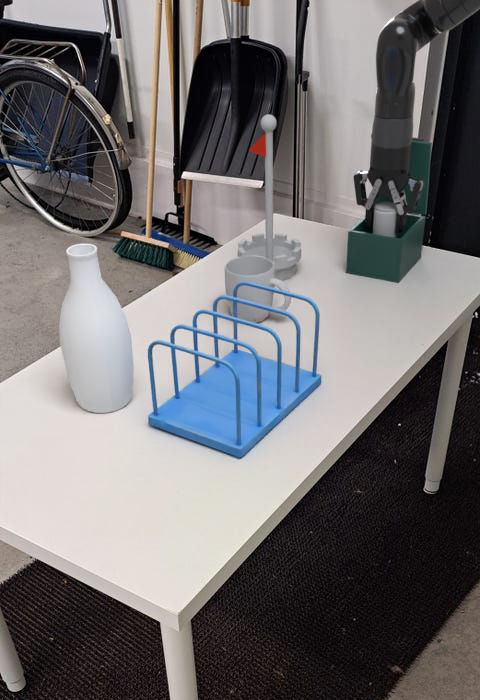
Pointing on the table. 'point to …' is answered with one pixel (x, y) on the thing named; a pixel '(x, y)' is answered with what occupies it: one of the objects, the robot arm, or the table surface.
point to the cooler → (385, 250)
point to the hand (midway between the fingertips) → (384, 229)
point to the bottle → (95, 337)
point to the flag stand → (271, 216)
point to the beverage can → (385, 219)
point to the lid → (417, 174)
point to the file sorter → (234, 384)
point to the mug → (258, 273)
